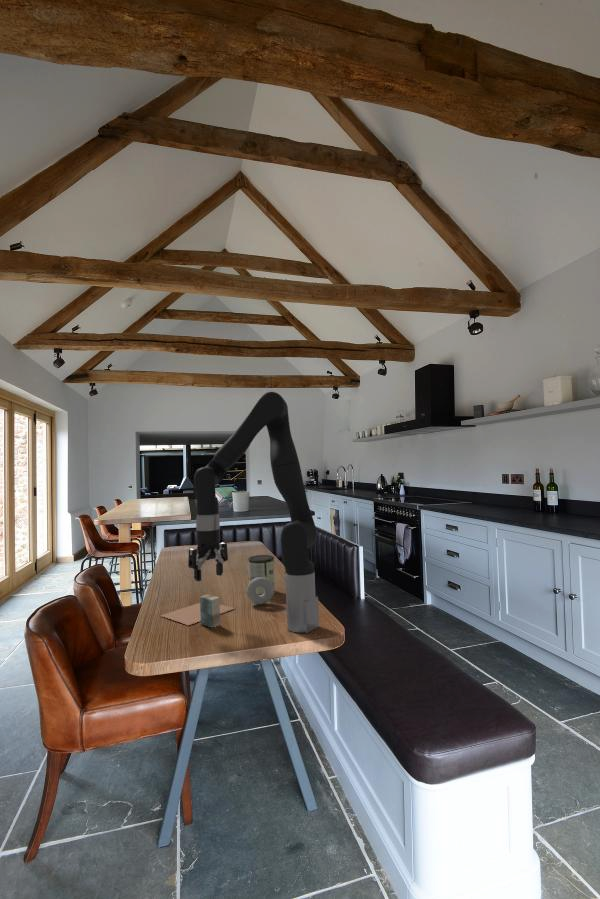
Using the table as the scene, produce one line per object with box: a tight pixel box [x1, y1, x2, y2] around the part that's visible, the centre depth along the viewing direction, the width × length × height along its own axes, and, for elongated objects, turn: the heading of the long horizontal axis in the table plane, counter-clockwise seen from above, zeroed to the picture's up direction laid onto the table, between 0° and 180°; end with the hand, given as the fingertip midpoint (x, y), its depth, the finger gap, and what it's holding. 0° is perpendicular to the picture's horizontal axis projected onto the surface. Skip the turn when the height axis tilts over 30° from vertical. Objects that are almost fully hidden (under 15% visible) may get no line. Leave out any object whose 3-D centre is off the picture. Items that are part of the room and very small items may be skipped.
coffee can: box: [247, 554, 276, 595], centre depth 178 cm, size 10×10×14 cm
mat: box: [160, 602, 236, 627], centre depth 156 cm, size 16×20×1 cm
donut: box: [246, 577, 274, 605], centre depth 163 cm, size 10×4×10 cm, turn 98°
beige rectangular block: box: [199, 594, 221, 629], centre depth 144 cm, size 6×3×9 cm, turn 50°
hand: (209, 577), depth 144 cm, fingers open, 8 cm apart
